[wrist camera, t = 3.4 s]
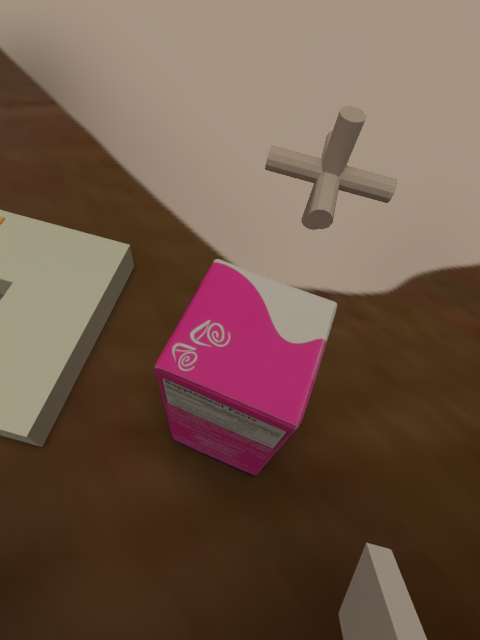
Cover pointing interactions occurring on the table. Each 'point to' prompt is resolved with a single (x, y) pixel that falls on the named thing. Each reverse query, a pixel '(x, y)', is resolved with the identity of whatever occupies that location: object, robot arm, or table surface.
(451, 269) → the table surface
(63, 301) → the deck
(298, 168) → the pipe connector
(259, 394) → the supplement box
